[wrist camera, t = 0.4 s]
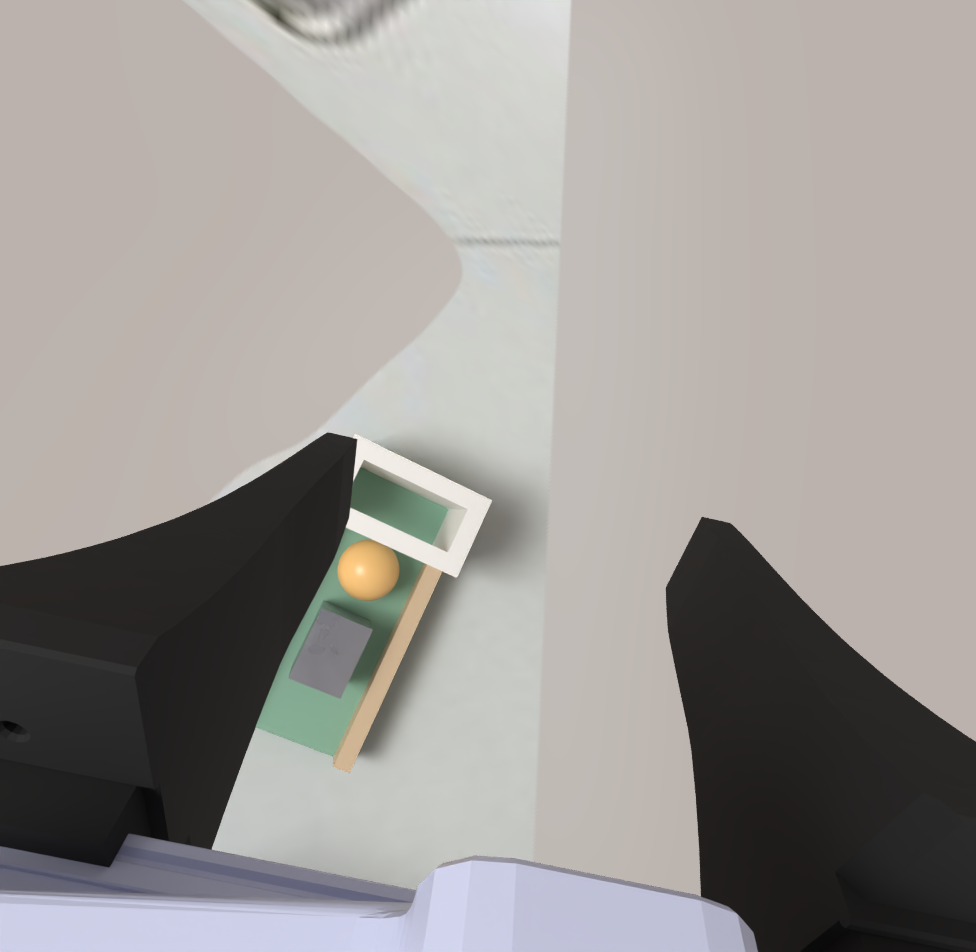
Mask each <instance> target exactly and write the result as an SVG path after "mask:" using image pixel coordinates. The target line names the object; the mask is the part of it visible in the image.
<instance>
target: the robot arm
mask: <svg viewBox="0 0 976 952" xmlns="http://www.w3.org/2000/svg"><path fill="white" fill-rule="evenodd" d="M356 448H357V439H355V438H351V437H346V436H342V435H337V434H333V433H326V434H324V435H323V436H321V437H319V438H318V439H316V440H315V441H313V442H312V443H310V444H309V445H307V446H306V447H304V448H303V449H302V450H300V451H299V452H297V453H296V454H294V455H293V456H291V457H290V458H288V459H287V460H285V461H283V462H282V463H280V464H279V465H277V466H276V467H274V468H272V469H271V470H269V471H268V472H266V473H264V474H263V475H261V476H260V477H258V478H256V479H255V480H253V481H251V482H249V483H248V484H246V485H244V486H242V487H240V488H238V489H237V490H235V491H233V492H231V493H229V494H228V495H226V496H224V497H222V498H220V499H218V500H216V501H214V502H212V503H210V504H207V505H205V506H203V507H201V508H199V509H196V510H194V511H192V512H189V513H187V514H185V515H182V516H180V517H178V518H175V519H172V520H170V521H167V522H164V523H161V524H159V525H156V526H153V527H150V528H147V529H144V530H141V531H139V532H136V533H133V534H130V535H127V536H124V537H121V538H118V539H115V540H112V541H108V542H105V543H101V544H97V545H94V546H90V547H87V548H82V549H78V550H74V551H71V552H67V553H63V554H59V555H54V556H50V557H46V558H41V559H36V560H30V561H25V562H20V563H15V564H10V565H5V566H0V952H976V742H975V741H974V740H972V739H971V738H969V737H968V736H966V735H964V734H963V733H962V732H960V731H959V730H957V729H956V728H954V727H953V726H951V725H950V724H949V723H947V722H946V721H944V720H943V719H941V718H940V717H938V716H937V715H936V714H934V713H933V712H932V711H930V710H929V709H928V708H926V707H925V706H924V705H922V704H921V703H920V702H918V701H917V700H915V699H914V698H913V697H911V696H910V695H908V694H907V693H906V692H905V691H903V690H902V689H901V688H900V687H898V686H897V685H896V684H894V683H893V682H892V681H891V680H889V679H888V678H887V677H886V676H884V675H883V674H882V673H881V672H880V671H878V670H877V669H876V668H875V667H874V666H873V665H871V664H870V663H869V662H868V661H867V660H866V659H864V658H863V657H862V656H861V655H860V654H858V653H857V652H856V651H855V650H854V649H853V648H852V647H850V646H849V645H848V644H847V643H846V642H845V641H844V640H843V639H841V637H840V636H838V635H837V634H836V633H835V632H834V631H833V630H832V629H831V628H830V627H829V626H828V625H827V624H826V623H825V622H824V621H823V620H822V619H821V618H820V617H819V616H818V615H817V614H816V613H815V612H814V611H813V610H812V609H811V608H810V607H809V606H808V605H807V604H806V603H805V602H804V601H803V600H802V599H801V598H800V597H799V596H798V595H797V594H796V592H795V591H794V590H793V589H792V588H791V587H790V586H789V585H788V584H787V583H786V582H785V581H784V580H783V578H782V577H781V576H780V575H779V574H778V573H777V572H776V571H775V570H774V569H773V567H771V565H770V564H769V563H768V562H767V561H766V560H765V559H764V558H763V557H762V555H761V554H760V553H759V552H758V551H757V550H756V549H755V548H754V547H753V546H752V544H751V543H750V542H749V541H748V540H747V539H746V538H745V537H744V536H743V535H742V534H741V533H740V532H739V531H738V530H737V529H736V528H735V527H734V526H733V525H732V524H730V523H726V522H723V521H718V520H714V519H709V518H704V517H702V518H701V520H700V522H699V524H698V526H697V528H696V530H695V532H694V533H693V535H692V538H691V539H690V541H689V543H688V545H687V547H686V549H685V551H684V553H683V555H682V557H681V559H680V561H679V563H678V565H677V567H676V569H675V571H674V573H673V575H672V577H671V579H670V581H669V583H668V584H667V587H666V605H667V623H668V633H669V638H670V644H671V649H672V654H673V659H674V663H675V669H676V674H677V678H678V683H679V688H680V693H681V698H682V702H683V707H684V712H685V717H686V722H687V726H688V732H689V738H690V744H691V751H692V760H693V772H694V782H695V793H696V805H697V821H698V836H699V851H700V853H699V854H700V881H701V897H700V896H698V895H694V894H689V893H684V892H679V891H674V890H669V889H664V888H659V887H654V886H649V885H644V884H639V883H634V882H630V881H624V880H620V879H614V878H609V877H605V876H600V875H595V874H590V873H584V872H580V871H575V870H570V869H565V868H560V867H555V866H550V865H545V864H540V863H535V862H530V861H525V860H520V859H515V858H502V857H487V856H472V857H468V858H463V859H459V860H455V861H451V862H446V863H443V864H441V865H440V866H439V867H437V868H436V869H435V870H434V871H433V872H432V873H431V874H430V875H429V876H427V877H426V878H425V879H424V880H423V881H422V882H421V883H420V884H419V885H418V888H417V891H416V890H411V889H406V888H401V887H396V886H391V885H386V884H381V883H376V882H371V881H366V880H361V879H356V878H351V877H346V876H341V875H336V874H331V873H326V872H321V871H316V870H311V869H306V868H300V867H295V866H290V865H285V864H280V863H275V862H270V861H265V860H260V859H255V858H250V857H245V856H240V855H235V854H230V853H225V852H220V851H215V850H211V849H212V846H213V843H214V840H215V837H216V835H217V832H218V829H219V826H220V823H221V820H222V817H223V814H224V811H225V809H226V806H227V803H228V800H229V798H230V795H231V792H232V789H233V787H234V784H235V781H236V778H237V776H238V773H239V770H240V767H241V765H242V762H243V759H244V756H245V754H246V751H247V748H248V746H249V743H250V741H251V738H252V735H253V733H254V730H255V727H256V725H257V722H258V719H259V717H260V714H261V712H262V709H263V706H264V704H265V701H266V699H267V696H268V694H269V691H270V689H271V686H272V684H273V681H274V679H275V676H276V674H277V671H278V669H279V666H280V664H281V661H282V659H283V657H284V655H285V653H286V651H287V649H288V646H289V644H290V642H291V640H292V639H293V637H294V635H295V633H296V631H297V629H298V627H299V625H300V623H301V621H302V620H303V618H304V616H305V614H306V612H307V610H308V608H309V606H310V604H311V602H312V601H313V599H314V597H315V595H316V593H317V591H318V589H319V587H320V585H321V583H322V581H323V579H324V578H325V576H326V574H327V572H328V570H329V568H330V566H331V564H332V562H333V560H334V558H335V555H336V553H337V550H338V547H339V545H340V542H341V539H342V537H343V534H344V531H345V528H346V525H347V522H348V520H349V515H350V505H351V496H352V486H353V477H354V467H355V458H356Z"/></svg>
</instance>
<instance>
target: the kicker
mask: <svg viewBox="0 0 976 952" xmlns="http://www.w3.org/2000/svg"><path fill="white" fill-rule="evenodd" d="M372 631H373V628H372V625H371V621H370V620H368V619H366V618H364V617H361V616H359V615H357V614H354V613H352V612H350V611H347V610H345V609H343V608H340V607H338V606H336V605H333V604H331V603H329V602H326V601H324V600H323V602H322V604H321V606H320V609H319V611H318V613H317V615H316V617H315V619H314V621H313V623H312V625H311V627H310V629H309V631H308V633H307V635H306V637H305V639H304V641H303V643H302V646H301V648H300V650H299V652H298V654H297V656H296V658H295V660H294V662H293V664H292V667H291V670H290V674H289V677H288V678H289V679H291V680H294V681H296V682H299V683H301V684H304V685H306V686H309V687H311V688H314V689H316V690H319V691H321V692H324V693H326V694H329V695H331V696H334V697H336V698H339V699H341V697H342V695H343V692H344V690H345V688H346V686H347V684H348V682H349V680H350V678H351V675H352V673H353V671H354V669H355V667H356V665H357V663H358V661H359V658H360V656H361V654H362V652H363V650H364V648H365V646H366V644H367V641H368V639H369V637H370V635H371V633H372Z"/></svg>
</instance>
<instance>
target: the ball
mask: <svg viewBox="0 0 976 952" xmlns="http://www.w3.org/2000/svg"><path fill="white" fill-rule="evenodd" d="M337 573H338V579H339V582H340V584H341V586H342V588H343V589H344V590H345V591H346V592H347V593H348V594H349V595H350V596H352V597H354V598H356V599H358V600H363V601H372V600H377V599H380V598H382V597H384V596H385V595H387V594H388V593H389V592H390V591H391V590H392V589H393V587H394V586H395V584H396V582H397V580H398V577H399V562H398V559H397V556H396V554H395V553H394V551H393V550H392V549H391V548H390V547H388V546H386V545H383V544H381V543H379V542H377V541H375V540H372V539H366V540H361V541H358V542H356V543H354V544H352V545H351V546H349V547H348V548H347V549H346V550H345V551H344V553H343V554H342V556H341V558H340V560H339V563H338V569H337Z"/></svg>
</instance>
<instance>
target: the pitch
mask: <svg viewBox="0 0 976 952" xmlns="http://www.w3.org/2000/svg"><path fill="white" fill-rule="evenodd" d="M353 438H355V439H357V448H356V458H355V467H354V477H353V486H352V496H351V505H350V515H349V520H348V522H347V525H346V528H345V531H344V534H343V537H342V539H341V542H340V545H339V547H338V550H337V553H336V555H335V558H334V560H333V562H332V564H331V566H330V568H329V570H328V572H327V574H326V576H325V578H324V579H323V581H322V583H321V585H320V587H319V589H318V591H317V593H316V595H315V597H314V599H313V601H312V602H311V604H310V606H309V608H308V610H307V612H306V614H305V616H304V618H303V620H302V621H301V623H300V625H299V627H298V629H297V631H296V633H295V635H294V637H293V639H292V640H291V642H290V644H289V646H288V649H287V651H286V653H285V655H284V657H283V659H282V661H281V664H280V666H279V669H278V671H277V674H276V676H275V679H274V681H273V684H272V686H271V689H270V691H269V694H268V696H267V699H266V701H265V704H264V706H263V709H262V712H261V714H260V717H259V719H258V722H257V725H256V728H259V729H262V730H264V731H267V732H270V733H272V734H275V735H278V736H280V737H283V738H285V739H288V740H291V741H293V742H296V743H299V744H301V745H304V746H307V747H309V748H312V749H314V750H317V751H320V752H322V753H325V754H328V755H330V756H333V767H335V768H337V769H340V770H343V771H345V772H348V773H350V771H351V769H352V767H353V765H354V762H355V760H356V758H357V756H358V754H359V752H360V749H361V747H362V745H363V743H364V741H365V739H366V736H367V734H368V732H369V730H370V728H371V725H372V723H373V721H374V719H375V717H376V715H377V712H378V710H379V708H380V706H381V704H382V702H383V699H384V697H385V695H386V693H387V691H388V689H389V686H390V684H391V682H392V680H393V678H394V675H395V673H396V671H397V669H398V667H399V665H400V662H401V660H402V658H403V656H404V654H405V652H406V649H407V647H408V645H409V643H410V641H411V639H412V636H413V634H414V632H415V630H416V628H417V626H418V623H419V621H420V619H421V617H422V615H423V612H424V610H425V608H426V606H427V604H428V602H429V599H430V597H431V595H432V593H433V591H434V589H435V586H436V584H437V582H438V580H439V578H440V576H441V573H442V571H443V572H445V573H447V574H449V575H452V576H454V577H456V578H457V577H458V574H459V572H460V570H461V568H462V566H463V563H464V561H465V559H466V557H467V555H468V553H469V550H470V548H471V546H472V544H473V542H474V539H475V537H476V535H477V533H478V531H479V528H480V526H481V524H482V522H483V520H484V517H485V515H486V513H487V511H488V509H489V506H490V504H491V502H492V500H490V499H488V498H486V497H484V496H482V495H480V494H478V493H476V492H474V491H472V490H470V489H468V488H466V487H464V486H462V485H460V484H458V483H455V482H453V481H451V480H449V479H447V478H445V477H443V476H441V475H439V474H437V473H435V472H433V471H431V470H429V469H427V468H425V467H423V466H420V465H418V464H416V463H414V462H412V461H410V460H408V459H406V458H404V457H402V456H400V455H398V454H396V453H394V452H392V451H390V450H388V449H386V448H383V447H381V446H379V445H377V444H375V443H373V442H371V441H369V440H367V439H365V438H363V437H361V436H359V435H357V434H354V436H353ZM366 539H372V540H375V541H377V542H379V543H381V544H383V545H386V546H388V547H390V548H391V549H392V550H393V551H394V553H395V554H396V556H397V559H398V562H399V577H398V580H397V582H396V584H395V586H394V587H393V589H392V590H391V591H390V592H389V593H388V594H387V595H385V596H384V597H382V598H380V599H377V600H372V601H363V600H358V599H356V598H354V597H352V596H350V595H349V594H348V593H347V592H346V591H345V590H344V589H343V588H342V586H341V584H340V582H339V579H338V573H337V569H338V563H339V560H340V558H341V556H342V554H343V553H344V551H345V550H346V549H347V548H348V547H349V546H351V545H352V544H354V543H356V542H358V541H361V540H366ZM323 600H324V601H326V602H329V603H331V604H333V605H336V606H338V607H340V608H343V609H345V610H347V611H350V612H352V613H354V614H357V615H359V616H361V617H364V618H366V619H368V620H370V621H371V625H372V628H373V631H372V633H371V635H370V637H369V639H368V641H367V644H366V646H365V648H364V650H363V652H362V654H361V656H360V658H359V661H358V663H357V665H356V667H355V669H354V671H353V673H352V675H351V678H350V680H349V682H348V684H347V686H346V688H345V690H344V692H343V695H342V697H341V699H339V698H336V697H334V696H331V695H329V694H326V693H324V692H321V691H319V690H316V689H314V688H311V687H309V686H306V685H304V684H301V683H299V682H296V681H294V680H291V679H289V678H288V677H289V674H290V670H291V667H292V664H293V662H294V660H295V658H296V656H297V654H298V652H299V650H300V648H301V646H302V643H303V641H304V639H305V637H306V635H307V633H308V631H309V629H310V627H311V625H312V623H313V621H314V619H315V617H316V615H317V613H318V611H319V609H320V606H321V604H322V602H323Z"/></svg>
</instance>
